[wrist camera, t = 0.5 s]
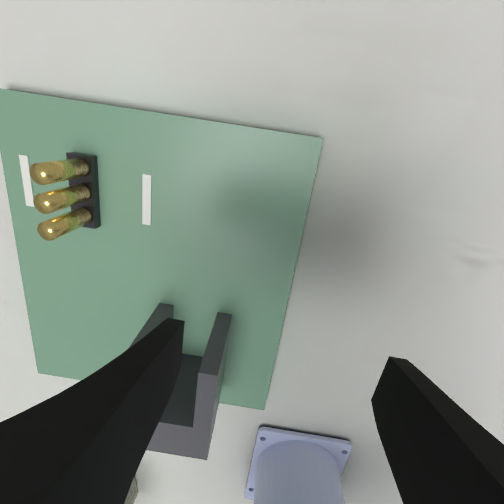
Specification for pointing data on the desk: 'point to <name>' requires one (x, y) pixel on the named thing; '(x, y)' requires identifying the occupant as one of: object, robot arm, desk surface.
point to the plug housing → (191, 392)
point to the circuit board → (158, 233)
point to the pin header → (68, 194)
